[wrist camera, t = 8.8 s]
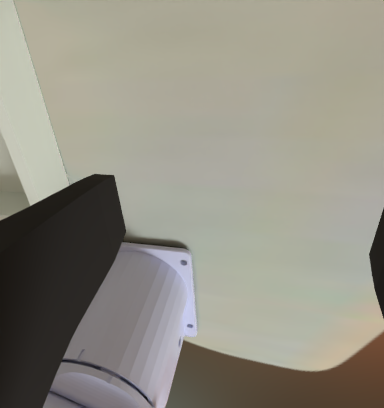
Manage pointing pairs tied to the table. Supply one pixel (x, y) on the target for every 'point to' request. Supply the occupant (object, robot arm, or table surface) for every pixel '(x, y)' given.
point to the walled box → (23, 125)
